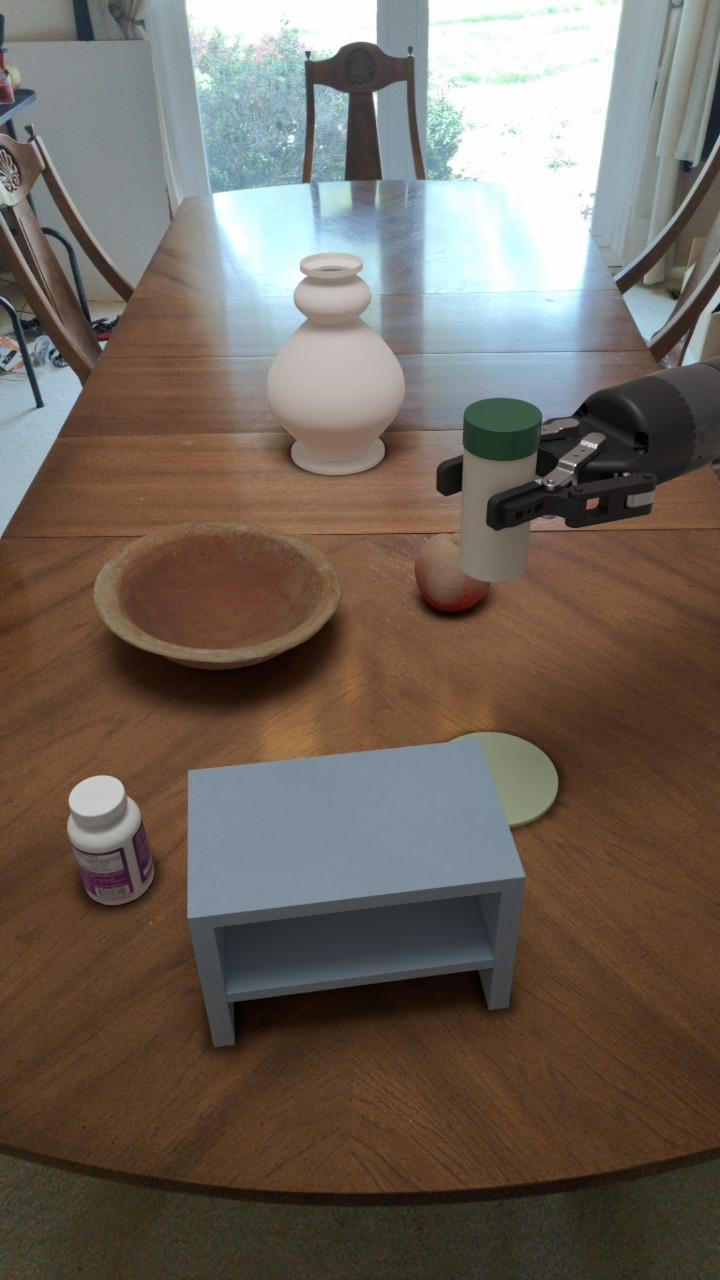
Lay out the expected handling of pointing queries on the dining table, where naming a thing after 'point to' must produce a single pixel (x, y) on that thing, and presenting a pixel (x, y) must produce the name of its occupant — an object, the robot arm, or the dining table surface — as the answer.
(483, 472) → the spice bottle
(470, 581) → the fruit
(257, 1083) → the dining table surface
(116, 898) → the pill bottle
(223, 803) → the shelf
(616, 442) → the robot arm
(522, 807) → the mat
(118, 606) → the bowl
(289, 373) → the decorative vase
